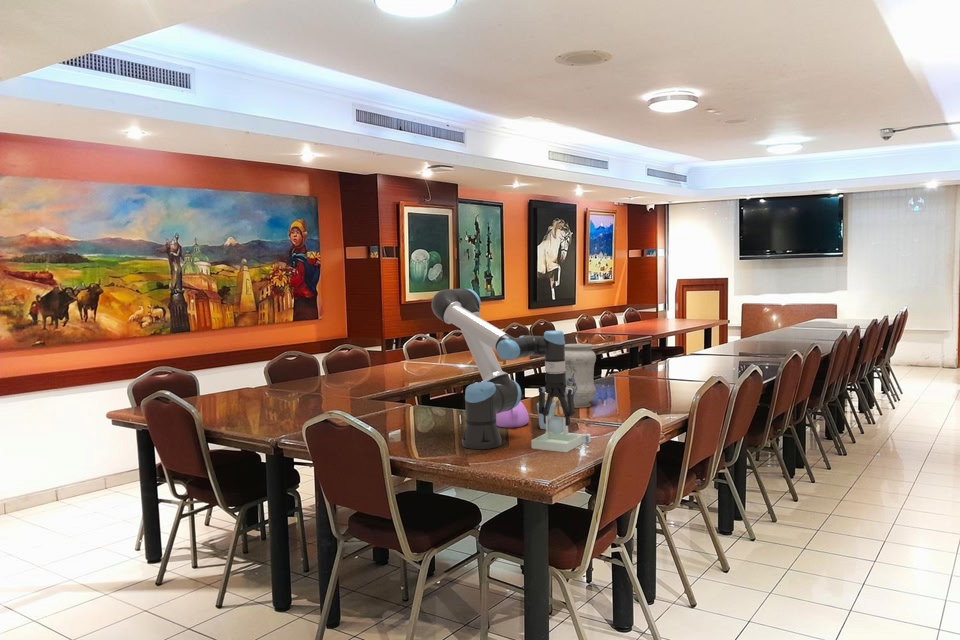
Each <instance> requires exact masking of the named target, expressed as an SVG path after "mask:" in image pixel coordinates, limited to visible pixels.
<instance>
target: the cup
mask: <svg viewBox="0 0 960 640" xmlns="http://www.w3.org/2000/svg"><path fill="white" fill-rule="evenodd" d="M545 405H546V401H545ZM544 408H545V407H544ZM555 408H556V403H555V402H553V401H552V403H551V407H550V410H549V414H548V415H551V418H553V417H555ZM536 409H537V417H538V424H539V428H540V429H541V430H546V424H544V416H543V414H540V413H539V402H537V403H536Z"/></svg>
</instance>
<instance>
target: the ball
mask: <svg viewBox="0 0 960 640" xmlns="http://www.w3.org/2000/svg"><path fill="white" fill-rule="evenodd" d="M548 427H549V430H550V431H551V432H552V433H554V434H560V433H562V432H563V417H561V416H554V417H553V418H551V419H550V421H549V423H548Z"/></svg>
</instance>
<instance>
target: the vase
mask: <svg viewBox="0 0 960 640" xmlns="http://www.w3.org/2000/svg"><path fill="white" fill-rule="evenodd" d="M593 346H594V345H593V344H592V343H567V344H566V343H565V371H564V372H565V374H566V386H567V388H570V389H574V392H573V401H574V409H579V408H581V409H583V408H585V409H586V408H588V407H591V406H592V403H590V402H591V401H592V400H593V399H594V398H595V396H596V392H597V388H596V386H595V383H594V377H595V376H594V374H595V372H594V371H595V363H596V360H597V355H596V353H595V351H594V350H592V348H593ZM564 395H565V400H566V403H567V406H568V398H567V392H566V391H565V393H564Z"/></svg>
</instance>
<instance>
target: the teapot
mask: <svg viewBox="0 0 960 640" xmlns="http://www.w3.org/2000/svg"><path fill="white" fill-rule="evenodd" d="M529 420H530V417H529V413H528V410H527V408H526V406H525V404H524V403H523V402H522V401H521V400H520V403H519V404H518V405H517V406H516V407H515V408H513V409H511V410H509V411H504V412H501V413H497V414H496V424H497V427H499V428H505V429H508V428H509V429H510V428H511V429H512V428H513V429H514V428H522V427H525V426H526V425H527V424H528V422H529Z"/></svg>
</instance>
